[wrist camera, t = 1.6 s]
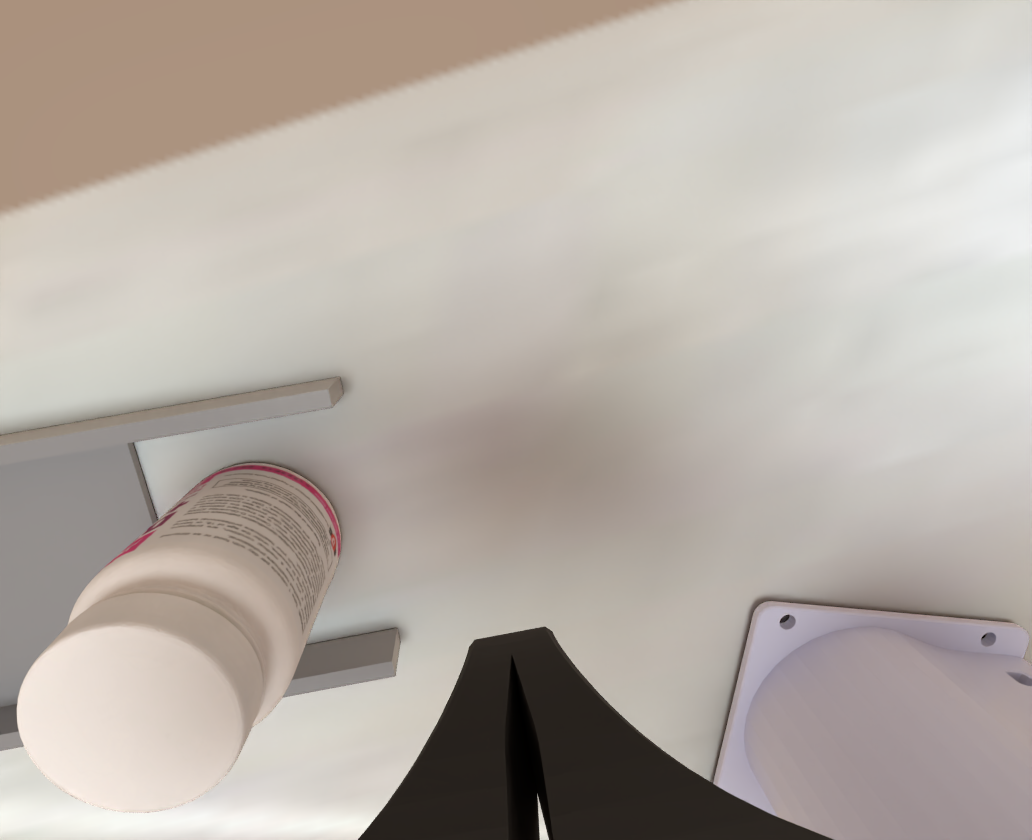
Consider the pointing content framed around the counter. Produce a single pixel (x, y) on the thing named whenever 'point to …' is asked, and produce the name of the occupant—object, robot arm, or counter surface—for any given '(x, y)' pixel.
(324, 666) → the tray
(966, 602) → the counter surface
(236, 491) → the pill bottle
